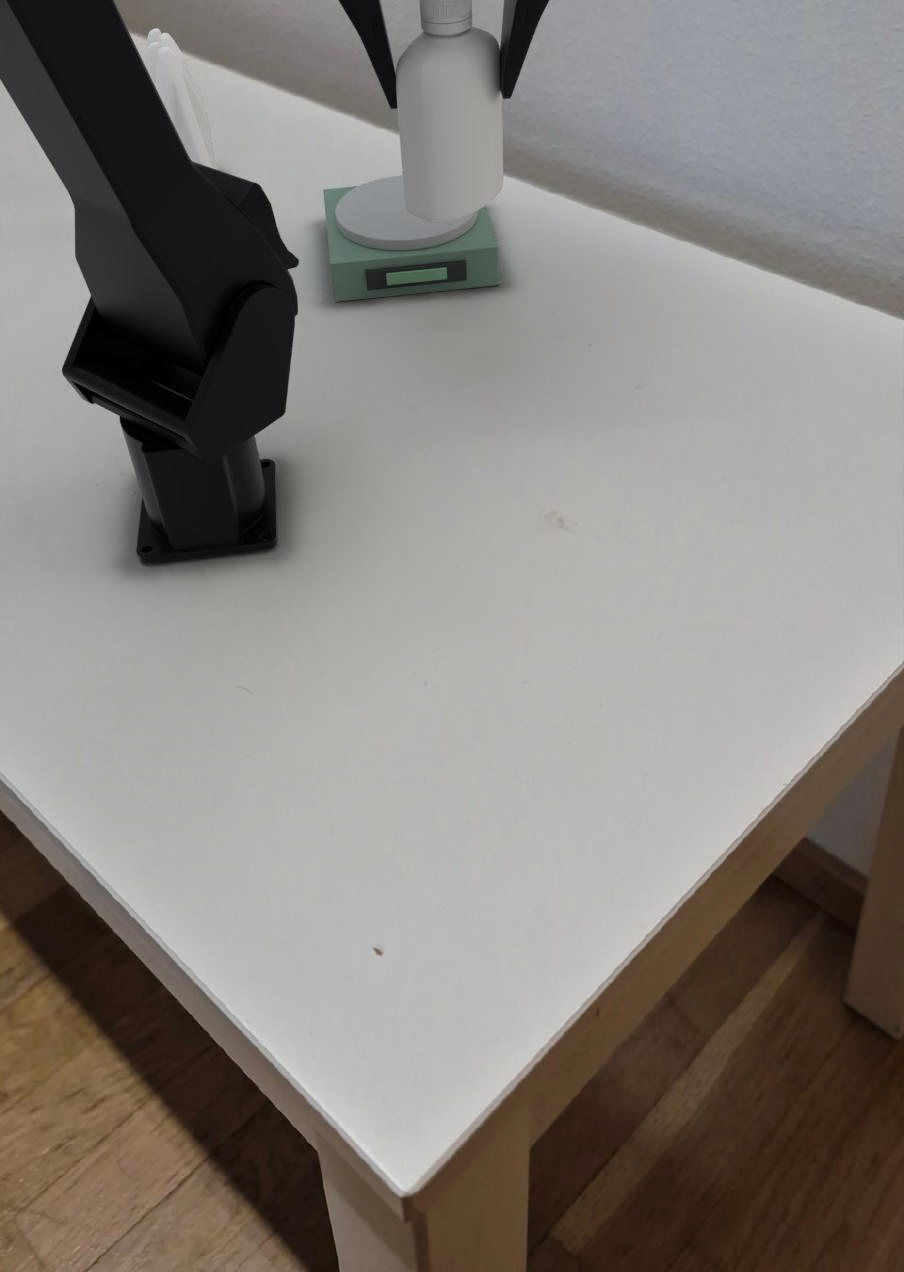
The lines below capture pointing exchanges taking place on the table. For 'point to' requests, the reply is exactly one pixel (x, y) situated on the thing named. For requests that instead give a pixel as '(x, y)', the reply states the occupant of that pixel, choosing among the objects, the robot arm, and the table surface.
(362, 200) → the kitchen scale
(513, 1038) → the table surface
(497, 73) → the eye dropper bottle
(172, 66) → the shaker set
